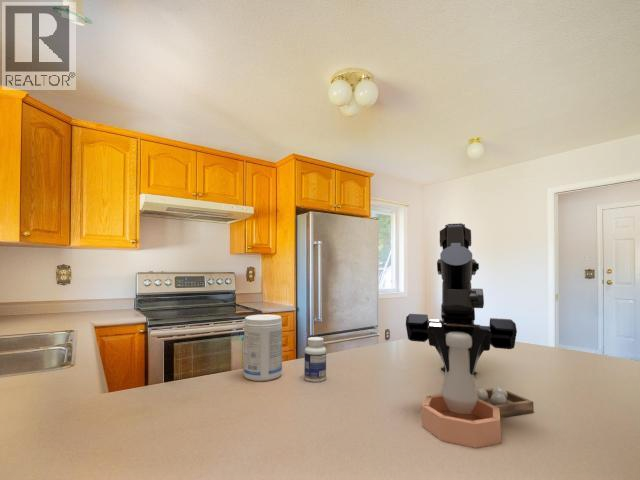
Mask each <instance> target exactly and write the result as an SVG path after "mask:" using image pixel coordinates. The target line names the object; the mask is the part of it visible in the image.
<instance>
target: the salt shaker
mask: <svg viewBox="0 0 640 480" xmlns="http://www.w3.org/2000/svg"><path fill="white" fill-rule="evenodd" d="M446 344H447V345H448V346H449V352H448V359H449V371H448V372H446V370H445V371H444V377H443V383H442V389H441V394H442V396H443V398H444V400H445V402H446V405H447V407H448V409H449V410H450V411H453V412H456V413H459V414H471V412H472V410H473V408H474V407H475V405H476V403H477V401H478V396H477V391H476V388H477V387H476V382H475V381H476V380H475V376H474V375H471V374H470V355H469V350H468V348H470V347H472V338H471V336H470V335H469V334H467V333H463V332H449V333H447V334H446Z"/></svg>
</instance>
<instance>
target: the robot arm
mask: <svg viewBox="0 0 640 480" xmlns="http://www.w3.org/2000/svg"><path fill="white" fill-rule="evenodd" d="M444 226H445V227H444V228H442V229H441V230H439V247H440V248H442V251H441V252H440V254H439V256H440V258H439V259H437V262H436V268H437V269H436V270H437V274H438V276H439V275H440V276H441V280H442V282H441V284H442V286H441V288H442V290H441V293H442V294H441V297H442V298H441V305H440V307H441V308H440V317H441V320H440V319H429V318H428V317H429V316H428V314H423V313H422V314H421V313H420V314H419V313H409V314H408V315H407V316H406V317H405V328H406V333H407V339H408V340H409V341H411V342H420V343H422V342H423V343H425V342H426V341H428V344H429V346H430V347H434V348H435V350H436V352H437V353H438V355H439V356H440V359H441V362H442V363H443V366H442V367H440V370H441V371H443V372H445V370H446V372H448V371H449V359H448V352H449V346H448V345H447V344H446V334H447V333H449V332H463V333H467V334H469V335H470V336H471V338H472V347H470V348H468V350H469V355H470V374H471V375H473V376H474V375H477V374H478V373H477V371H475V370H476V367H477V364H478V362H479V359H480V357H481V356H482V354H483V352H484V351H485V352H486V351H488V352H489V351H490V350H491V346H492V347H493V348H494V349H503V350H512V349H515V345H516V340H517V332H518V331H517V325H516V322H515V321H513V319H511V318H496V317H495V318H494V317H493V318H491V317H490V318H489V324H488V325H481V324H475V320H476V312H475V310H476V309H484V306H485V299H484V298H485V297H484V296H485V295H484V291H483V290H484V289H483V288H472V278H473V276H475V275H476V273H477V271H478V270H480V264H479V263H478V262H477V261H476V260H475V259H474V258H473V253H472V251H471V250H470V248H469V247H472V229H469V228H467V227H466V225H465V224H464V223H460V222H459V223H447V224H445V225H444Z"/></svg>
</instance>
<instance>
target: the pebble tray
mask: <svg viewBox="0 0 640 480" xmlns="http://www.w3.org/2000/svg"><path fill="white" fill-rule="evenodd" d="M494 388H495V387H494ZM494 388H484V390H486V392H487V393H488V400H487V401H486V402H487V403H489V404H491V405H493V404H492V403H491V396H492V390H493V389H494ZM506 392H507V394H508V397H507V399H506V400H507V404H501V405H494V406H495V407H497V408H499V411H500V419H504V418H509V417H514V416H515V417H516V416H522V415H526V414H533V413H535V412H534V411H535V409H534V401H533V400H530V399H528V398H526V397H523V396H520V395H519V394H517V393H513V392H510V391H508V390H506Z"/></svg>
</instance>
